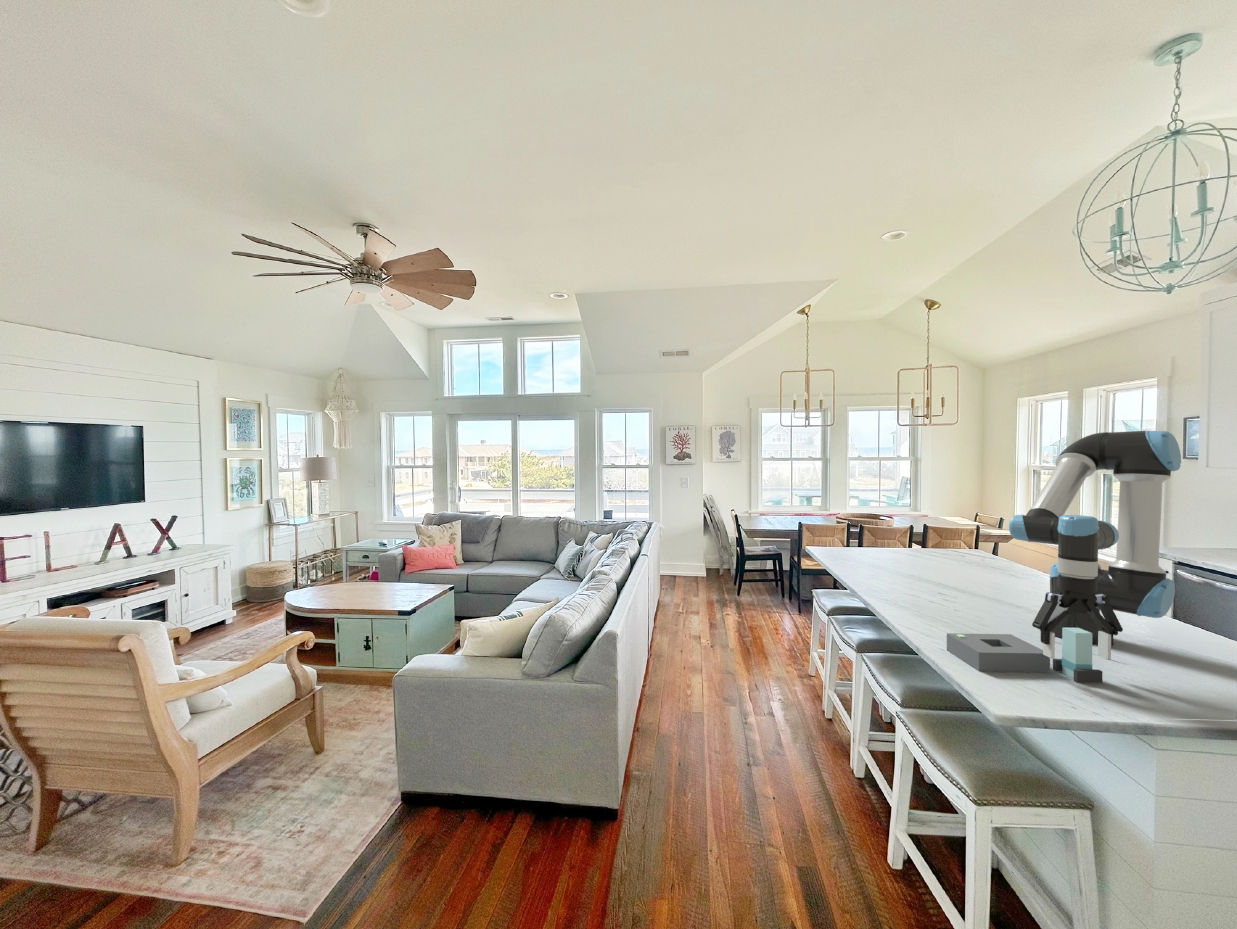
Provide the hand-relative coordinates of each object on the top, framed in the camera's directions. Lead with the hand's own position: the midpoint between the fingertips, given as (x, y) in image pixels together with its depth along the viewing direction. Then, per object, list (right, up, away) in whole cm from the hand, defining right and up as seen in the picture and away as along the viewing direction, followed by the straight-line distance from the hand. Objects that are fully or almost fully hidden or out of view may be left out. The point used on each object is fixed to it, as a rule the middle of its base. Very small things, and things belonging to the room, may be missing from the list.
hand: (1076, 657), depth 125 cm
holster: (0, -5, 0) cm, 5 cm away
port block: (-13, -5, +10) cm, 17 cm away
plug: (0, -5, 0) cm, 5 cm away
